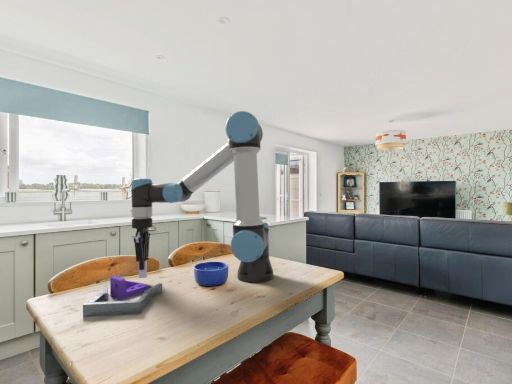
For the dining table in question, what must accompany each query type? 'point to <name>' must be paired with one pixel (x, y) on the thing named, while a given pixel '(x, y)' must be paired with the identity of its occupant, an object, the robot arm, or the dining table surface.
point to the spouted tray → (118, 304)
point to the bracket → (125, 288)
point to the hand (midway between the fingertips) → (142, 277)
